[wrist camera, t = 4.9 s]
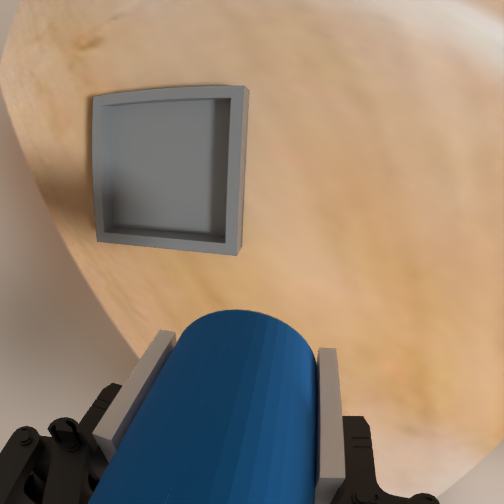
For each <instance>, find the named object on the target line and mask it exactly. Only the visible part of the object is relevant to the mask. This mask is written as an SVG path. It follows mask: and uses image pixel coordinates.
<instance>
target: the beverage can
mask: <svg viewBox="0 0 504 504" xmlns="http://www.w3.org/2000/svg"><path fill="white" fill-rule="evenodd" d="M316 442H317V365H316V360H315V357H314V354H313V352H312V350H311V348H310V346H309V345H308V343H307V342H306V340H305V339H304V338H303V337H302V336H301V335H300V334H299V333H298V332H297V331H296V330H295V329H293V328H292V327H291V326H289V325H288V324H286V323H284V322H283V321H281V320H279V319H277V318H274V317H272V316H270V315H266V314H263V313H260V312H255V311H250V310H238V309H237V310H223V311H217V312H214V313H210V314H207V315H205V316H203V317H201V318H199V319H197V320H196V321H194V322H193V323H192V324H190V325H189V326H188V327H187V328H186V329H185V330H184V332H183V333H182V335H181V336H180V338H179V340H178V342H177V343H176V345H175V347H174V349H173V350H172V352H171V354H170V356H169V357H168V359H167V361H166V363H165V364H164V366H163V368H162V370H161V371H160V373H159V375H158V377H157V378H156V380H155V382H154V384H153V386H152V387H151V389H150V391H149V393H148V394H147V396H146V398H145V400H144V401H143V403H142V405H141V407H140V409H139V410H138V412H137V414H136V416H135V418H134V419H133V421H132V423H131V425H130V427H129V428H128V430H127V432H126V434H125V436H124V437H123V439H122V441H121V443H120V445H119V447H118V448H117V450H116V452H115V454H114V456H113V457H112V459H111V461H110V463H109V465H108V467H107V468H106V470H105V472H104V474H103V476H102V478H101V480H100V481H99V483H98V485H97V487H96V489H95V491H94V493H93V494H92V496H91V498H90V500H89V502H88V504H314V501H315V477H316Z"/></svg>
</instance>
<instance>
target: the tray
mask: <svg viewBox="0 0 504 504" xmlns="http://www.w3.org/2000/svg"><path fill="white" fill-rule="evenodd" d="M248 106H249V90H248V89H247V88H246V87H245V86H194V87H174V88H160V89H149V90H138V91H129V92H121V93H113V94H106V95H100V96H93V116H92V174H93V197H94V213H95V225H96V236H97V242H106V243H115V244H125V245H134V246H144V247H154V248H163V249H173V250H183V251H193V252H203V253H213V254H223V255H232V256H237V255H238V253H239V251H240V249H241V247H242V233H243V210H244V188H245V166H246V146H247V126H248Z"/></svg>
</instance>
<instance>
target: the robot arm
mask: <svg viewBox="0 0 504 504" xmlns="http://www.w3.org/2000/svg"><path fill="white" fill-rule="evenodd" d="M176 343H177V342H176V334H175V332H172V331H165V330H160V331H159V332H158V334H157V335H156V337H155V338H154V340H153V341H152V343H151V344H150V346H149V347H148V349H147V350H146V352H145V353H144V355H143V356H142V358H141V359H140V361H139V362H138V364H137V365H136V367H135V368H134V370H133V371H132V373H131V374H130V376H129V377H128V379H127V380H126V382H125V383H124V385H123V386H122V385H118V384H115V383H111V384H110V385H109V386H107V387H106V388H104V389H103V390H102V391H101V393H100V394H99V396H98V397H97V400H95V401H94V403H93V404H92V406H91V407H90V408H89V410H88V411H87V413H86V414H85V416H84V417H83V419H82V420H81V422H80V423H79V424H78V422H76V421H75V420H74V419H71V418H68V417H65V418H59V419H56V420H54V421H53V422H52V423H51V424H50V425H49V427H48V430H49V432H50V434H51V435H52V437H47V436H40V435H39V434H38V432H37V430H36V429H34V428H33V427H29V426H24V427H21V428H19V429H17V430H16V431H15V432H14V433H13V435H12V436H11V437H10V439H9V440H8V442H7V444H6V445H5V447H4V448H3V450H2V451H1V453H0V504H88V502H89V500H90V498H91V496H92V494H93V493H94V491H95V489H96V487H97V485H98V483H99V481H100V480H101V478H102V476H103V474H104V472H105V470H106V468H107V467H108V465H109V463H110V461H111V459H112V457H113V456H114V454H115V452H116V450H117V448H118V447H119V445H120V443H121V441H122V439H123V437H124V436H125V434H126V432H127V430H128V428H129V427H130V425H131V423H132V421H133V419H134V418H135V416H136V414H137V412H138V410H139V409H140V407H141V405H142V403H143V401H144V400H145V398H146V396H147V394H148V393H149V391H150V389H151V387H152V386H153V384H154V382H155V380H156V378H157V377H158V375H159V373H160V371H161V370H162V368H163V366H164V364H165V363H166V361H167V359H168V357H169V356H170V354H171V352H172V350H173V349H174V347H175V345H176ZM316 365H317V442H316V477H315V501H314V504H439V501H438V500H437V499H436V498H435V497H434V496H432V495H430V494H426V493H420V494H416V495H414V496H412V497H411V498H404V497H399V496H394V495H390V494H388V493H386V492H384V491H383V490H382V489H381V488H380V487H379V485H378V484H377V481H376V475H375V466H374V457H373V449H372V441H371V433H370V426H369V425H368V423H367V422H366V420H365V419H364V417H363V416H342V407H341V395H340V383H339V372H338V362H337V352H336V349H335V348H319V351H318V357H317V362H316Z"/></svg>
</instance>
